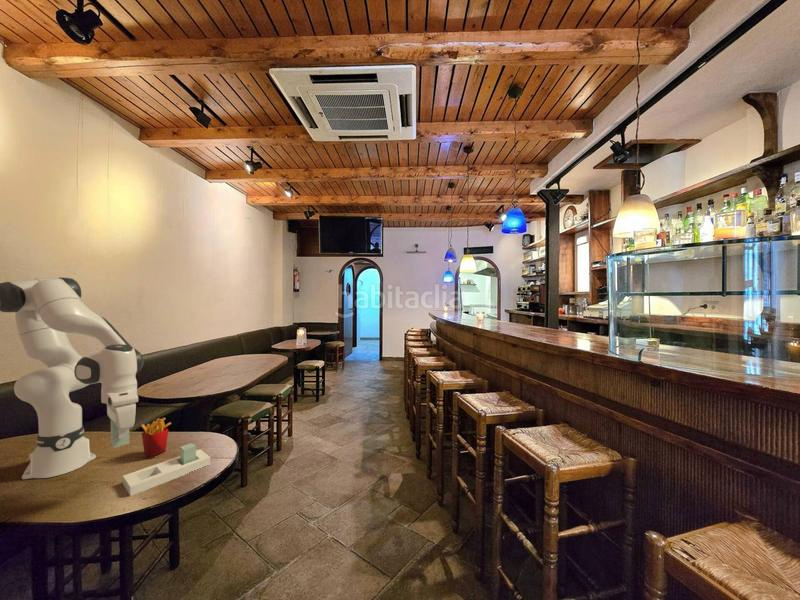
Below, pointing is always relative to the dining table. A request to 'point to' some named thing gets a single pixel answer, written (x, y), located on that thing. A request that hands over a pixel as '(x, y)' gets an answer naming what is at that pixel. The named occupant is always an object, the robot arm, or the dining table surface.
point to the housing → (166, 470)
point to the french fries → (155, 438)
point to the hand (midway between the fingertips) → (120, 435)
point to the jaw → (114, 437)
